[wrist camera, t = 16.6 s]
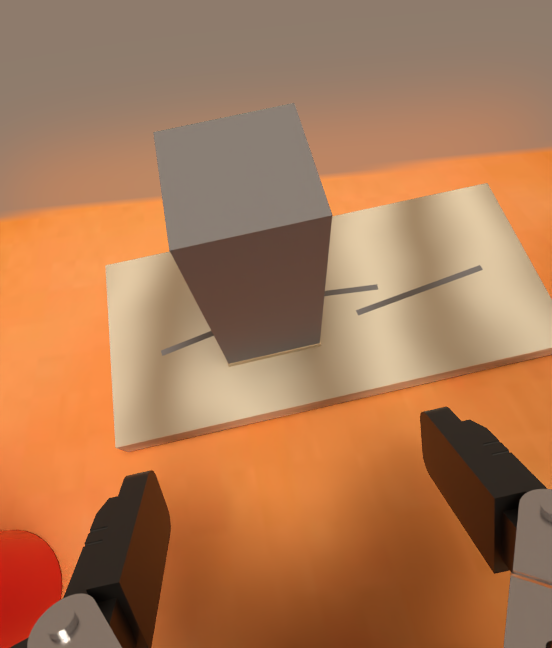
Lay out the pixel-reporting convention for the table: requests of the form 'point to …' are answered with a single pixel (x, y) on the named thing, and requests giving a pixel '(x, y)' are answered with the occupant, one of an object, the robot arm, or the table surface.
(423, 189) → the table surface
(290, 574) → the table surface
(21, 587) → the bottle
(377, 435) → the table surface
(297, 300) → the block
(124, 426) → the board
